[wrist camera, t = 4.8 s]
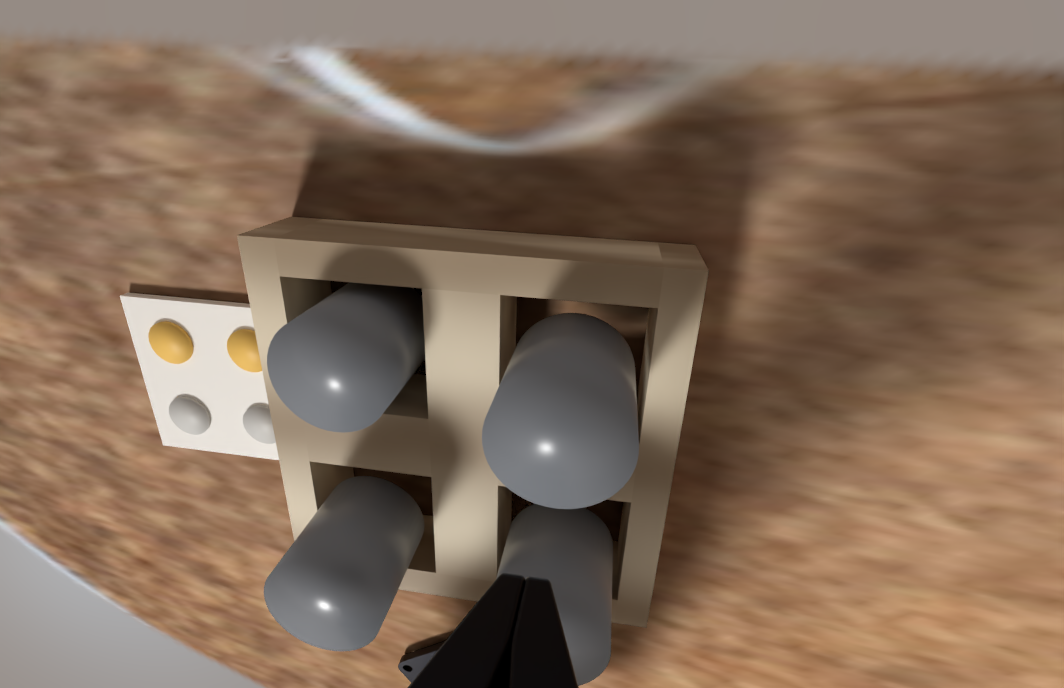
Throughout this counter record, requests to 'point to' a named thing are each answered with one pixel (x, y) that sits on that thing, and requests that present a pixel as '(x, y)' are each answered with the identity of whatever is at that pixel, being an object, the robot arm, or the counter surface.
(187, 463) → the counter surface
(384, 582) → the button
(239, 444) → the pattern tile
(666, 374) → the button board
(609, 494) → the button
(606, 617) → the button
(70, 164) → the counter surface
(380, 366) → the button
